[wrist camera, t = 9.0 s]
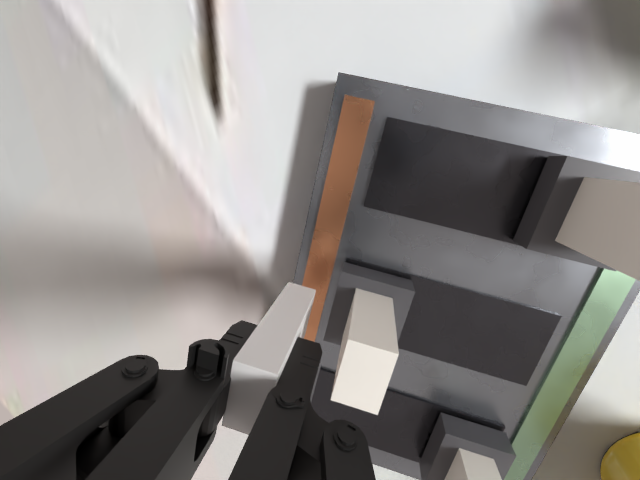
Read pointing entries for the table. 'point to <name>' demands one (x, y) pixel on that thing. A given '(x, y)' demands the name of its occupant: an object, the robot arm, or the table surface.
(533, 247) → the block
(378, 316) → the breaker mid
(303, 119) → the table surface
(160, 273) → the table surface
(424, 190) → the panel
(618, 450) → the plant pot
